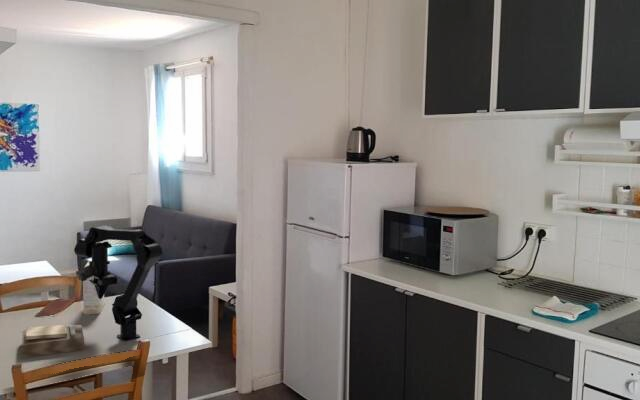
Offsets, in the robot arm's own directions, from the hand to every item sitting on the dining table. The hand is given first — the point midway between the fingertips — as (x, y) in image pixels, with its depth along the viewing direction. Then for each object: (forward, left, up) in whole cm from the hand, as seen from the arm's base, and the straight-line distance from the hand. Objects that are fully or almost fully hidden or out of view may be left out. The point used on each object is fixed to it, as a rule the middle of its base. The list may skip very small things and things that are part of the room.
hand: (100, 298), depth 219 cm
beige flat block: (-5, +19, -13) cm, 24 cm away
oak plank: (-4, +21, -8) cm, 23 cm away
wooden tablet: (+42, +2, -14) cm, 45 cm away
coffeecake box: (+30, -10, -13) cm, 34 cm away
